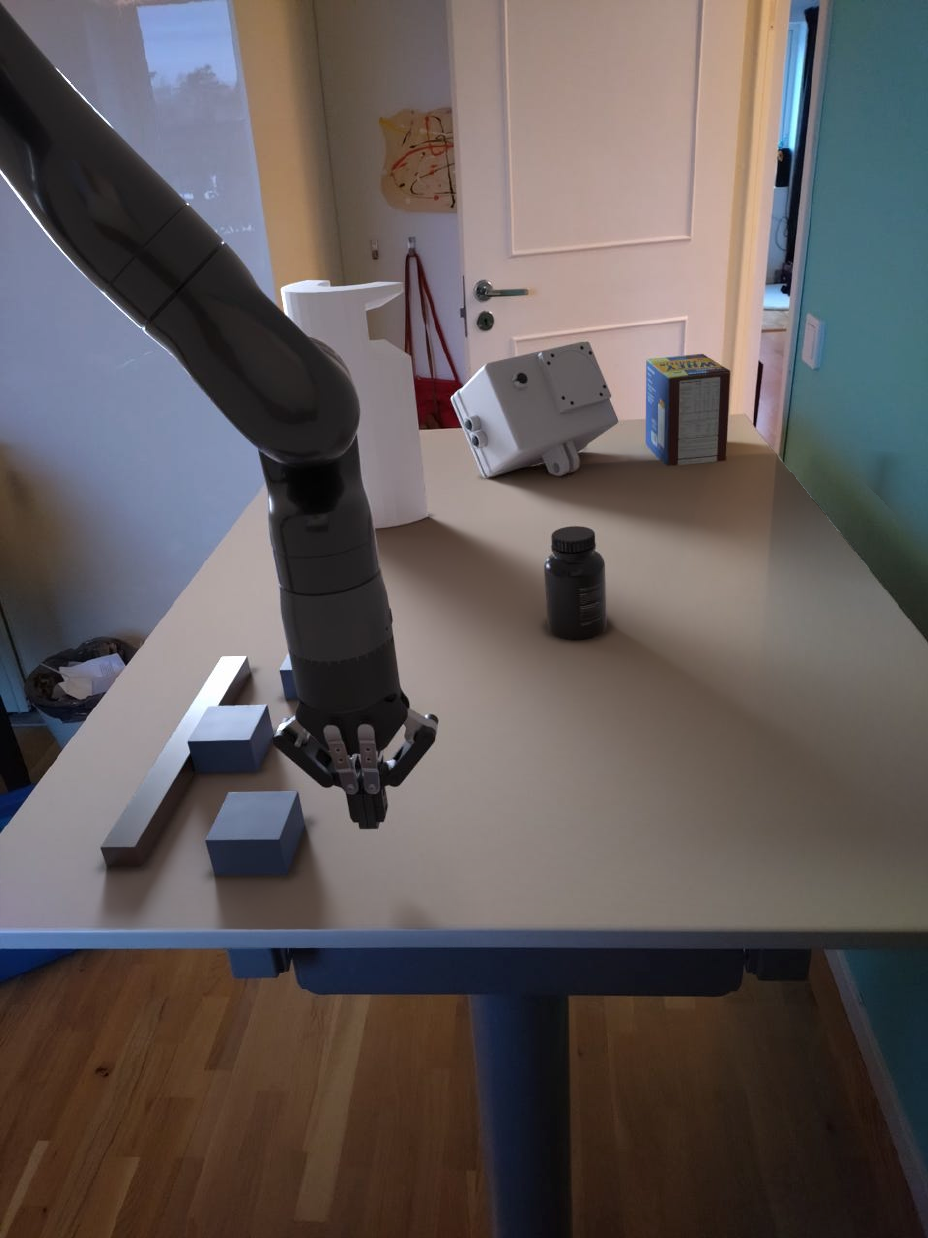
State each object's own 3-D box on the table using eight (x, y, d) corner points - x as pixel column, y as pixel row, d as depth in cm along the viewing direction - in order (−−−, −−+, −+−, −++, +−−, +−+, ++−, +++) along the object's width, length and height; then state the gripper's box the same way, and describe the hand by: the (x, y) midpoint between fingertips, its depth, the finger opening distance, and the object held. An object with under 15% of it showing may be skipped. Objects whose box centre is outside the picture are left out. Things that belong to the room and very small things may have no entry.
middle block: (196, 776, 84) (186, 741, 82) (216, 739, 89) (208, 706, 88) (258, 775, 84) (249, 740, 82) (275, 738, 89) (267, 704, 87)
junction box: (527, 478, 140) (474, 349, 141) (484, 508, 154) (436, 390, 154) (638, 443, 152) (589, 324, 152) (590, 474, 165) (544, 364, 166)
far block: (285, 702, 95) (279, 670, 93) (299, 673, 100) (293, 642, 98) (341, 701, 94) (335, 668, 92) (352, 672, 99) (347, 640, 98)
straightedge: (107, 871, 73) (99, 847, 72) (226, 676, 101) (221, 656, 100) (142, 871, 73) (135, 847, 72) (251, 675, 101) (247, 655, 99)
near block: (215, 879, 72) (204, 840, 70) (238, 829, 77) (228, 792, 75) (288, 878, 71) (279, 839, 69) (306, 828, 76) (298, 790, 74)
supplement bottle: (605, 615, 106) (603, 520, 101) (608, 643, 100) (607, 544, 95) (547, 617, 107) (542, 523, 102) (546, 645, 101) (542, 546, 96)
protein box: (700, 438, 166) (703, 352, 159) (726, 462, 152) (732, 370, 145) (644, 443, 166) (644, 358, 159) (665, 468, 152) (667, 376, 145)
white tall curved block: (344, 495, 154) (432, 517, 141) (292, 516, 146) (379, 541, 133) (311, 279, 138) (407, 281, 125) (251, 290, 131) (346, 294, 117)
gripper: (233, 661, 61) (278, 856, 69) (425, 654, 60) (449, 854, 67) (263, 611, 68) (301, 794, 75) (437, 603, 66) (457, 791, 74)
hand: (371, 822), depth 71 cm, fingers closed
